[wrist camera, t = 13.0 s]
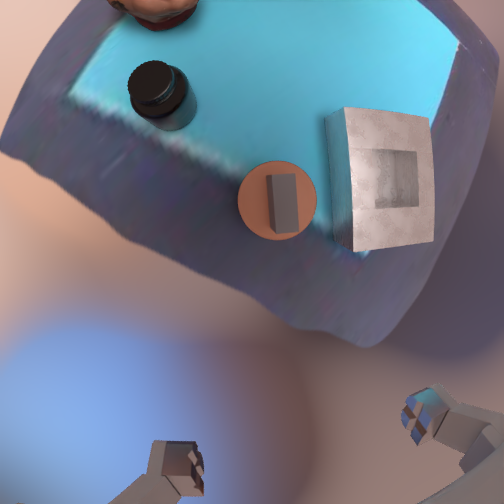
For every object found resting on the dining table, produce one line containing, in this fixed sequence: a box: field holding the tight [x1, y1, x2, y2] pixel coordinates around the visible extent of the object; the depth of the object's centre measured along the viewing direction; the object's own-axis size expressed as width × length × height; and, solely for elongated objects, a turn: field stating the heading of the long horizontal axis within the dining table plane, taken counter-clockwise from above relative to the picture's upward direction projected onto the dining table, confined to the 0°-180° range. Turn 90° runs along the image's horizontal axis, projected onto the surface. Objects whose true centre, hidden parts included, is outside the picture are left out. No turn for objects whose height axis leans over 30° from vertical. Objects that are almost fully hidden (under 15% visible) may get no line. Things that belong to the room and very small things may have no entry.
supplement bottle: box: [127, 60, 197, 131], centre depth 27 cm, size 7×7×12 cm
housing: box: [324, 107, 434, 252], centre depth 34 cm, size 18×14×7 cm
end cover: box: [238, 161, 317, 240], centre depth 32 cm, size 9×9×10 cm
